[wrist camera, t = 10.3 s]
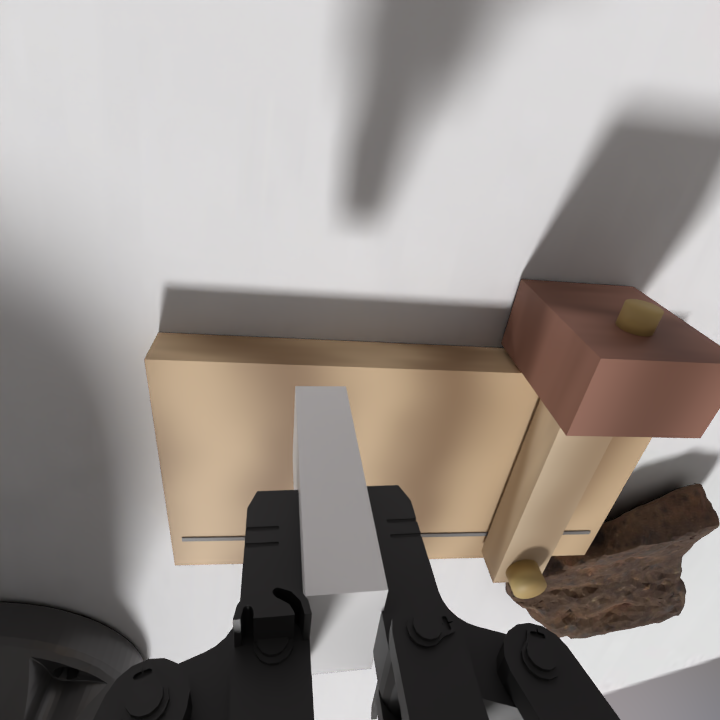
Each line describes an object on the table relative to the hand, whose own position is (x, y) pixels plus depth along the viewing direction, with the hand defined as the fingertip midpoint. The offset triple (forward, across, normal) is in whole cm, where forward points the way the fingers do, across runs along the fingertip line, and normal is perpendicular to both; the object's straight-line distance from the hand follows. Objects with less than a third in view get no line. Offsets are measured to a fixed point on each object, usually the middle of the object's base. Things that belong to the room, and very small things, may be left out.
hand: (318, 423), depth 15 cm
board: (+6, +5, -6) cm, 10 cm away
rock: (+6, +19, -15) cm, 25 cm away
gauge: (+5, +11, -4) cm, 13 cm away
